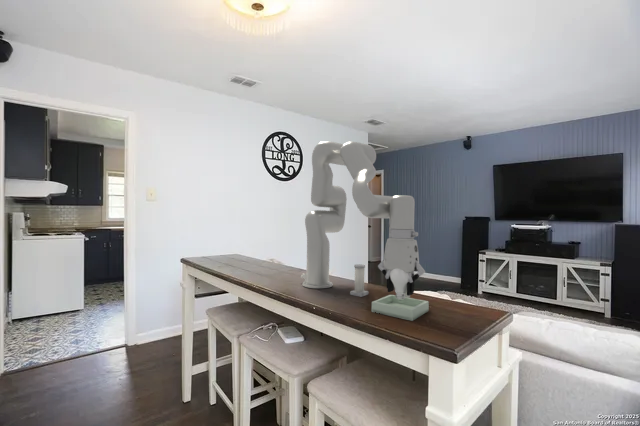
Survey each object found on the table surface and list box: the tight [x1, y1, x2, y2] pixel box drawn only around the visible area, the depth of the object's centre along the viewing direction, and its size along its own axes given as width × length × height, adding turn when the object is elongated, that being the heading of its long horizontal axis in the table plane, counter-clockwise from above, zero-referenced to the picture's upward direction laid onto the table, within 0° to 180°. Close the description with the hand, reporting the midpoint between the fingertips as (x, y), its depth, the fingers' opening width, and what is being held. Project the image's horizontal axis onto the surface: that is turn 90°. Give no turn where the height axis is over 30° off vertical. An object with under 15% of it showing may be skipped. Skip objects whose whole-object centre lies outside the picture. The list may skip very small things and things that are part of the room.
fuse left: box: [349, 263, 369, 297], centre depth 120 cm, size 5×5×11 cm
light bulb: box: [390, 268, 412, 301], centre depth 99 cm, size 7×7×11 cm
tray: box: [371, 294, 430, 322], centre depth 99 cm, size 13×13×3 cm
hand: (400, 292), depth 99 cm, fingers closed on light bulb, 5 cm apart
